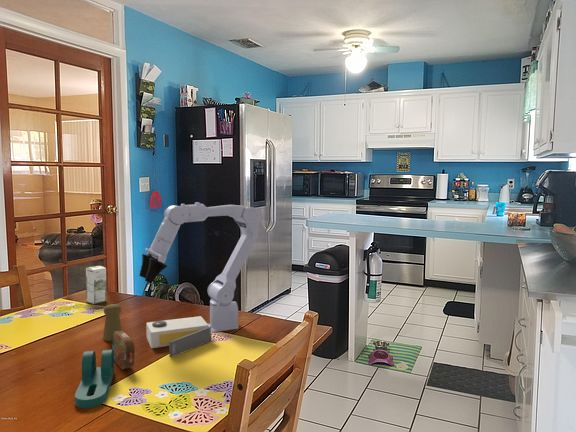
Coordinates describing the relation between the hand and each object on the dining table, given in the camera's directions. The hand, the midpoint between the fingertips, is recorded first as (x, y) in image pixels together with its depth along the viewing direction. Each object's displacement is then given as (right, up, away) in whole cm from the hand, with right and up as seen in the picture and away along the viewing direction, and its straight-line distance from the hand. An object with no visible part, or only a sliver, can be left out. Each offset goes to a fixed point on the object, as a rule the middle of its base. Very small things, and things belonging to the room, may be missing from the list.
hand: (145, 279), depth 145 cm
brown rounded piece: (-1, -22, -16) cm, 27 cm away
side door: (+16, -21, -5) cm, 26 cm away
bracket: (-3, -24, -31) cm, 39 cm away
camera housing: (+10, -20, +3) cm, 22 cm away
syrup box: (-34, -16, +44) cm, 58 cm away
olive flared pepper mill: (-12, -20, +4) cm, 23 cm away
